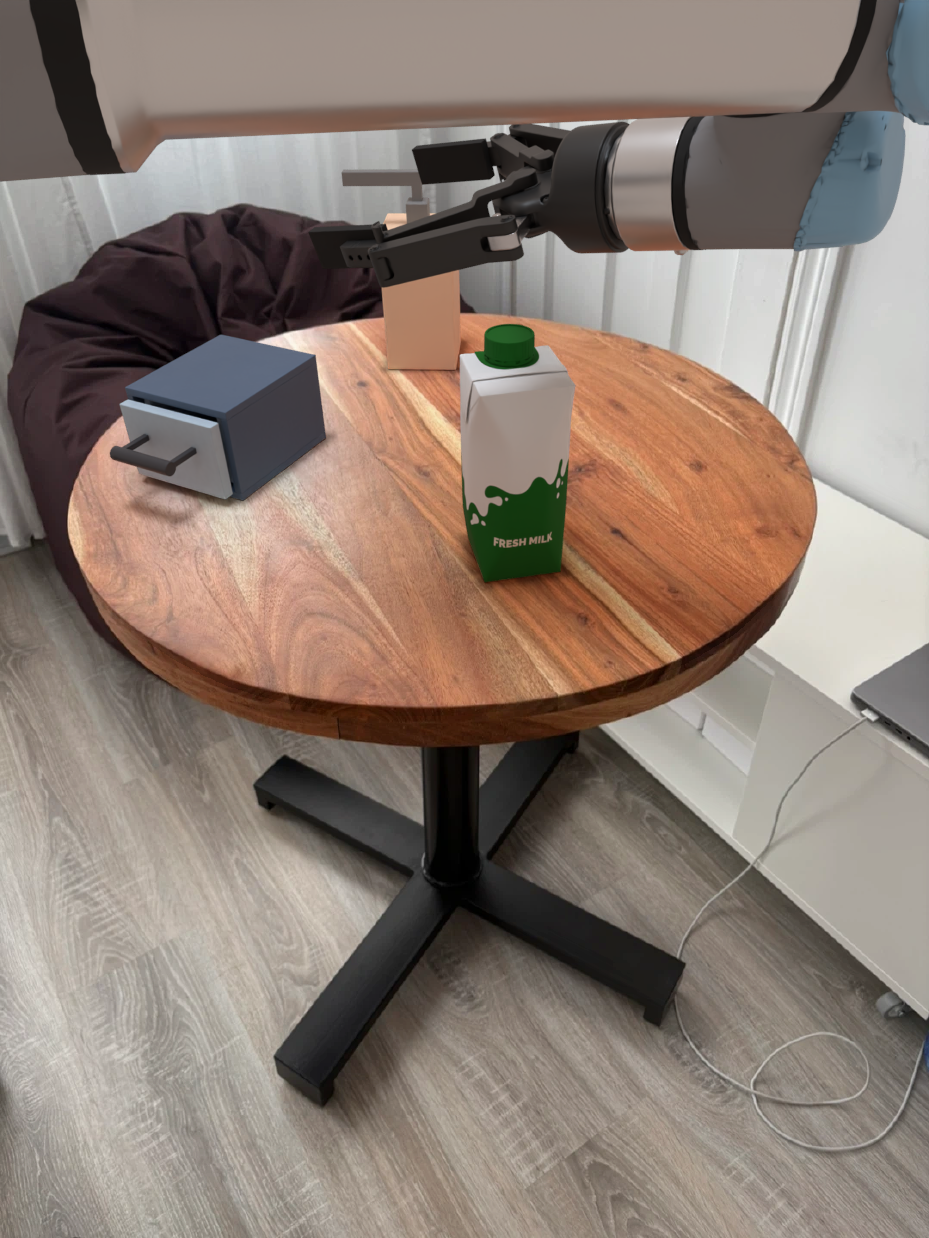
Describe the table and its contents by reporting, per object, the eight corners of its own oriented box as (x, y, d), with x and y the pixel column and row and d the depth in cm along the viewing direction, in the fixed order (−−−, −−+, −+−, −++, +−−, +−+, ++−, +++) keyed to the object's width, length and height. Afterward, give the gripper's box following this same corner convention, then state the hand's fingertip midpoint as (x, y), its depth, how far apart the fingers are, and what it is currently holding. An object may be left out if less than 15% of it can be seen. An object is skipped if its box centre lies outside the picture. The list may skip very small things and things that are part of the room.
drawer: (194, 522, 87) (177, 449, 82) (106, 494, 92) (84, 423, 87) (306, 440, 100) (296, 372, 95) (223, 418, 104) (209, 352, 99)
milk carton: (546, 522, 88) (554, 316, 75) (573, 578, 81) (588, 361, 68) (455, 534, 87) (449, 327, 74) (476, 591, 80) (473, 374, 67)
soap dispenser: (461, 342, 121) (456, 160, 107) (455, 370, 115) (450, 180, 101) (365, 341, 122) (348, 161, 108) (354, 369, 116) (335, 180, 102)
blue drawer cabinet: (242, 501, 92) (225, 412, 86) (147, 472, 97) (124, 387, 91) (326, 437, 102) (315, 354, 96) (236, 414, 107) (220, 334, 100)
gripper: (552, 348, 54) (291, 337, 65) (708, 163, 67) (468, 181, 78) (523, 222, 49) (246, 234, 60) (698, 49, 62) (442, 86, 73)
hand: (371, 204), depth 69 cm, fingers open, 13 cm apart
